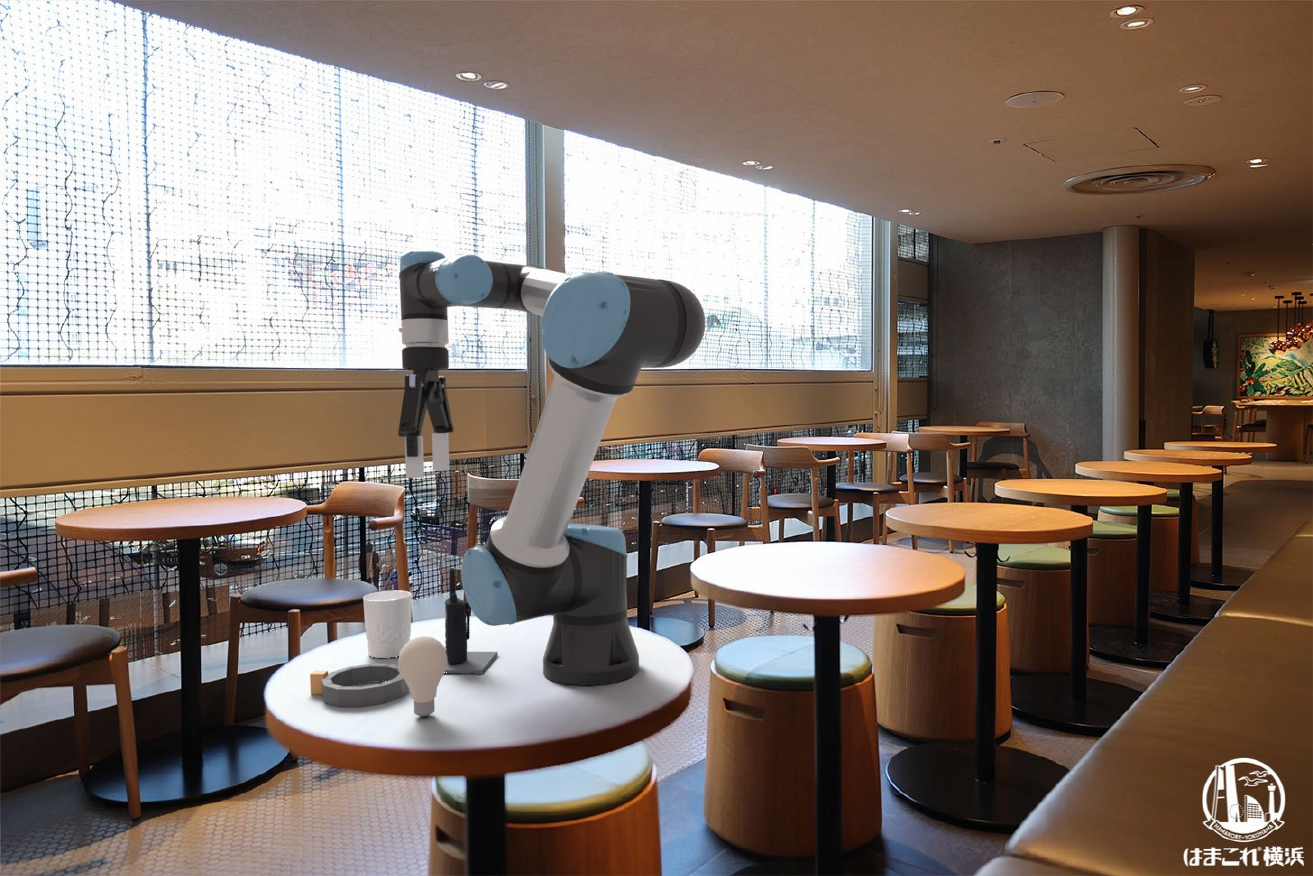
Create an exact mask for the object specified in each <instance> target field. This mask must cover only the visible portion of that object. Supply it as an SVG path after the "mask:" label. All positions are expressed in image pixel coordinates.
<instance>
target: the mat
mask: <svg viewBox="0 0 1313 876" xmlns="http://www.w3.org/2000/svg"><path fill="white" fill-rule="evenodd" d="M496 656H497V657H498V651H467V660H466V661H464V662H462V663H460V664H450V663H448V661H447V666H446V670H445V673H446V672H447V673H475V674H474V675H483V674H484V672H485V671H486V670H487V668H489V666H490V665H491V664H492V663H493V661H494V660H495V659H496V658H497V657H496ZM495 657H496V658H495ZM491 662H492V663H491ZM490 663H491V664H490ZM489 664H490V665H489ZM488 665H489V666H488Z"/></svg>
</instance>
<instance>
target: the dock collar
mask: <svg viewBox="0 0 1313 876" xmlns="http://www.w3.org/2000/svg"><path fill="white" fill-rule="evenodd" d="M309 677H310V678H309V679H310V682H309V683H310V695H321V698H322V697H323V698H322V700H323V703H324V702H325V703H324V704H327V703H329V704H328V705H330V704H331V705H330V706H335V707H337V708H339V707H340V708H362V707H368V706H374V705H375V706H376V705H380V704H386V703H388V702H391V701H394V700H396V699H395V698H397V699H399V698H402V697H403V696H404V695H405V694H406V693H407V692H408V691H409V690H410V689H409V687H408V685H407V683H406V682H405V680H404V679H403V677H402V675H401V674H400V671H399V666H398V664H394V663H366V664H359V665H352V666H351V665H350V666H347V667H344V668H340V669H338V670H334V671H331V672H329V670H314V671H313V672H310V674H309ZM370 681H371V682H370ZM372 681H382V682H380V683H377V684H369V685H362V686H353V684H355V685H360V684H359V683H362V684H367V683H366V682H368V683H373V682H372ZM383 681H384V682H383ZM385 681H386V682H385ZM350 685H351V686H350ZM408 689H409V690H408ZM407 690H408V691H407ZM406 691H407V692H406ZM405 692H406V693H405ZM404 693H405V694H404ZM393 699H394V700H393Z"/></svg>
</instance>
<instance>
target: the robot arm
mask: <svg viewBox="0 0 1313 876" xmlns="http://www.w3.org/2000/svg"><path fill="white" fill-rule="evenodd" d="M399 258H400V259H399V260H400V261H399V273H398V280H399V292H400V294H399V295H400V297H399V298H400V300H399V301H400V315H401V316H400V317H401V318H400V319H401V326H400V327H399V328H398V332H399V333H401V343H402V344H403V345H404V346H405V347H403V348H402V349H401V359H402V361H401V362H402V364H401V365H402V369H403V370H404V371H410V372H411V371H412V374H405V375H404V392H403V399H402V404H401V405H402V406H401V411H400V418H399V424H398V425H399V427H398V432H397V433H398V436H399V437H400V438H401V437H403V438H404V458H405V459H404V461H405V463H404V464H405V478H407V479H409V478H410V479H414V478H415V479H417V478H425V467H424V465H425V464H424V461H425V459H424V436H421V433H422V430H423V424H424V421H425V417H426V412H427V413H428V415H429V420H430V422H431V426H432V429H433V432H434V433H433V432H432V433H431V445H432V446H431V447H432V448H431V449H432V453H431V454H432V471H438V472H439V471H450V445H449V444H450V443H449V440H450V439H449V433H451V434H452V433H454V430H455V427H454V426H453V422H452V417H451V416H452V415H451V409H450V404H449V398H448V392H447V383H446V376H443V375H441V376H439V372H440V371H447V370H449V367H450V360H449V359H450V357H449V353H450V352H449V349H448V348H447V347H446V345H448V344H449V318H448V314H449V313H448V308H451V307H467V308H468V307H469V308H470V307H471V308H483V309H484V308H485V309H486V308H488V309H503V310H513V311H520V312H524V313H528V314H532V315H537V316H541V321H540V328H541V330H543V333H542V334H541V335H540V338H541V342H542V346H543V348H544V351H545V353H546V355H547V356H548V359H547V364H548V367H549V369H550V370H551V372H552V374H553V375H554V378H553V380H552V384H551V386H550V388H549V391H548V395H547V398H546V401H545V404H544V406H543V410H542V413H541V415H540V419H539V421H538V424H537V427H536V431H535V432H534V436H533V439H532V442H531V445H530V448H529V451H528V453H527V457H526V459H525V462H524V466H523V468H522V470H521V471H522V472H521V475H520V477H519V480H518V482H517V486H516V488H515V491H514V494H513V498H512V500H511V503H510V506H509V508H508V512H507V514H506V515H507V516H503V517H501V518H499V519H496V521H494V523H493V524H492V526H491V529H490V530H489V531H490V532H489V535H488V538H487V539H486V543H484V544H483V545H480V544H477V545H474V547H471V548H470V547H469V548H468V550H467V551H466V552H465V553H464V555H463V558H462V560H461V574H460V575H461V582H462V588H463V591H464V595H465V599H466V601H467V603H468V604H469V606H470V608H471V611H472V612H473V614H474V615H475V617H476V618H477V619H478V620H479V621H480V622H482V623H483V624H486V625H487V626H493V627H495V626H503V625H505V626H506V625H509V626H511V625H514V624H516V623H521V622H525V621H530V620H533V619H537V618H542V617H546V616H550V615H553V618H552V620H553V623H552V628H551V631H550V634H549V637H548V641H547V644H546V647H545V650H544V655H543V657H542V673H543V675H544V677H546V678H547V679H548V680H551V681H553V682H556V683H561V684H566V685H576V686H597V685H606V684H612V683H617V682H621V681H625V680H628V679H630V678H632V677H633V676H635V675H637V673H638V672H639V670H640V655H639V652H638V649H637V646H636V643H635V640H634V637H633V634H632V631H631V627H630V625H629V621H628V597H627V596H628V592H627V591H628V590H627V589H628V582H627V581H628V576H627V575H628V571H627V570H628V568H627V567H628V565H627V563H628V561H627V560H628V553H627V548H626V546H627V544H626V537H625V536H626V535H625V534H624V533H623V531H622V530H620V529H619V528H616V527H613V526H612V527H611V526H604V525H596V524H581V523H570V522H571V519H572V516H573V514H574V512H575V509H576V506H577V503H578V500H579V498H580V496H581V493H582V491H583V487H584V486H585V485H584V484H585V483H586V480H587V477H588V475H589V473H590V470H591V468H592V467H591V466H592V464H593V461H594V459H595V457H596V455H597V451H598V448H599V446H600V444H601V441H602V438H603V435H604V433H605V430H606V428H607V425H608V422H609V420H610V417H611V415H612V411H613V409H614V406H615V403H616V402H617V399H620V398H623V397H625V396H628V395H630V394H631V393H632V391H633V389H634V386H635V385H636V382H637V379H638V377H639V374H640V372H641V370H642V369H654V368H655V369H656V368H658V369H664V368H668V367H669V368H670V367H673V366H676V365H679V364H681V363H683V362H685V361H686V360H688V359H689V358H690V357H691V356H692V355H693V354H694V353H695V352H696V351H697V350H698V348H699V346H700V345H701V343H702V341H703V338H704V335H705V331H706V316H705V311H704V309H703V308H704V307H703V305H702V304H701V302H700V300H699V299H698V297H697V296H696V295H695V293H694V292H692V291H691V290H690V289H689V288H687V287H686V286H684V285H683V284H680V283H678V282H675V281H672V280H667V279H659V278H657V279H656V278H649V277H638V276H631V275H624V274H614V273H613V272H610V271H609V272H608V271H596V272H577V273H575V274H572V273H567V272H566V273H565V272H561V271H555V270H552V269H550V268H548V267H542V266H539V265H531V264H530V265H526V264H525V265H524V264H517V263H516V264H515V263H506V262H499V261H490V260H484V259H482V258H481V257H479V255H478V256H477V255H475V254H472V253H471V254H470V253H469V254H467V253H466V254H454V255H453V256H449V257H446V256H445V254H444V253H442V252H439V251H433V250H415V251H414V250H411V251H406V252H404V253H402V255H401V256H400V257H399Z"/></svg>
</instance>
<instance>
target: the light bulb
mask: <svg viewBox="0 0 1313 876" xmlns="http://www.w3.org/2000/svg"><path fill="white" fill-rule="evenodd" d="M397 665H398V666H399V671H400V674H401V675H402V677H403V679H404V680H405V682H406V683H407V685H408V687H409V691H410V697H411V699H412V701H413V713H414V715H417V716H419V717H421V718H427V717H428V716H430V715H432V714H433V713H434V712H435V709H436V708H435V698H436V697H437V693H438V692H437V691H438V687H439V685H440V682H441V680H442V678H443V675H445V674H444V672H445V670H446V666H447V654H446V648H445V647H444V645H443V643H441V641H439V639H436V638H435V637H432V636H427V635H423V636H418V637H415V638H412V639H410V641H409V642H408V643H406V644H405V645H404V647H403V648H402V650H401V651H400V654H399V657H398V661H397Z"/></svg>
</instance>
